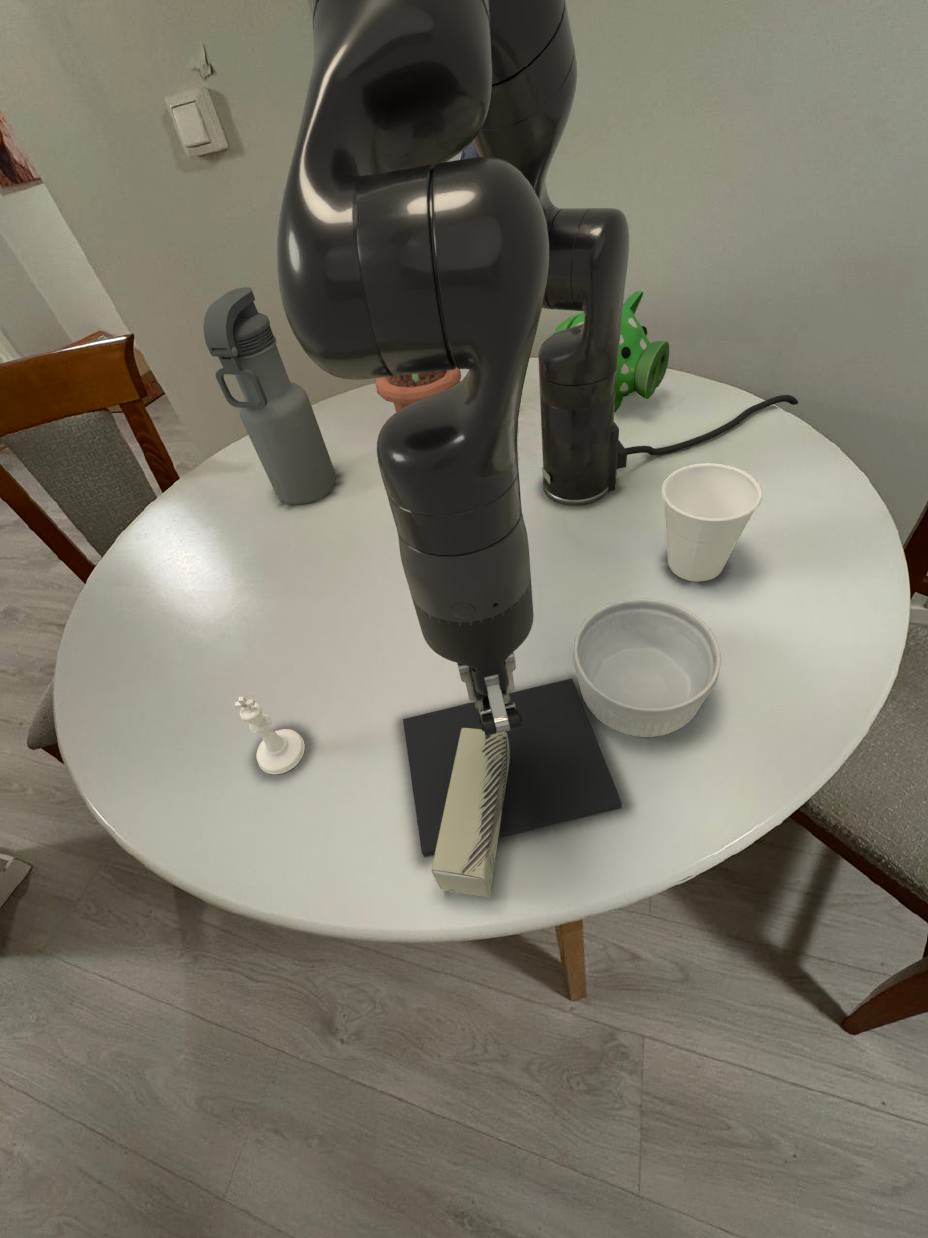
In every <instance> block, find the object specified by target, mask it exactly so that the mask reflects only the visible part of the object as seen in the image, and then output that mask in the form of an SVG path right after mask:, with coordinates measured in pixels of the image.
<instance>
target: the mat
mask: <svg viewBox="0 0 928 1238" xmlns="http://www.w3.org/2000/svg"><path fill="white" fill-rule="evenodd" d="M509 696H510V701H509V703H512V702H514V703H515V707H516V709H517V710H518V713H519V715H520V714H521V717H522V722H521V726H522V728H518V729H514V730H511V729H510V731H506V733H507V736H508V741H509V750H510V762H509V769H508V776H507V782H506V789H505V796H504V802H503V809H502V816H501V823H500V830H499V837H498V839H499V838H504V837H507V836H512V835H515V834H519V833H523V832H529V831H532V830H536V829H539V828H544V827H548V826H551V825H556V824H560V823H565V822H568V821H572V820H576V819H580V818H583V817H588V816H593V815H597V814H600V813H605V812H608V811H612V810H617V809H620V808H622V806H623V803H622V800H621V798H620V795H619V792H618V790H617V787H616V785H615V783H614V780H613V777H612V775H611V772H610V769H609V768H608V764H607V762H606V760H605V758H604V755H603V751H602V749H601V747H600V745H599V742H598V740H597V738H596V737H597V736H596V735H595V732H594V730H593V728H592V727H593V726H592V725H591V721H590V719H589V717H588V715H587V712H586V710H585V707H584V704H583V703H582V699H581V697H580V694H579V692H578V690H577V687H576V684H575V682H574V679H573V678H567V679H563V680H559V681H555V682H550V683H547V684H542V685H539V686H534V687H530V688H526V689H521V690H518V691H512V692H510V693H509ZM475 702H476V701H471V702H468V703H463V704H460V705H459V704H458V705H455V706H451V707H446V708H443V709H439V710H433V711H430V712H426V713H422V714H418V715H414V716H409V717H406V718H403V719H402V722H403V723H402V724H403V730H404V737H405V744H406V750H407V751H406V752H407V759H408V764H409V765H408V766H409V773H410V780H411V787H412V794H413V800H414V801H413V802H414V808H415V815H416V823H417V829H418V836H419V843H420V850H421V854H422V857H427V856H431V855H435V850H436V845H437V841H438V836H439V831H440V827H441V822H442V817H443V813H444V808H445V803H446V798H447V794H448V789H449V784H450V780H451V775H452V770H453V766H454V761H455V756H456V752H457V747H458V742H459V737H460V733H461V729H462V728H473V729H482V728H481V724H480V723H479V718H478V717H480V714H479V711H478V708H477V709H476V707H475Z"/></svg>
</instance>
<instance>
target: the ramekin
mask: <svg viewBox="0 0 928 1238" xmlns="http://www.w3.org/2000/svg"><path fill="white" fill-rule="evenodd" d="M572 663H573V668H574V671H575V674H576V677H577V680H578V686H579V689H580V693H581V695H582V699H583V701H584V703H585V705H586V707H587V708H588V709H589V710H590V712H591V714H592V715H593V716H595V717H596V719H597V720H598V721H600V722H601V723H602V724H603V725H605V726H607V727H608V728H610V729H611V730H614V731H616V732H618V733H622V734H625V735H627V736H628V735H629V736H632V737H640V738H654V737H662V736H664V735H665V736H666V735H669V734H671V733H674V732H677V730H679V729H682V728H683V727H685V725H687V724H689V723H690V722H691V720H692V719H694V718H695V716H696V714H697V713H698V711H699V710H700V708H701V707H702V705H703V704H704V701H705V700H706V699H707V698H708V697H709V696H710V694H711V693H712V692H713V690H714V689H715V686H716V684H717V682H718V679H719V675H720V671H721V665H722V656H721V650H720V646H719V643H718V640H717V638H716V636H715V634H714V632H712V630H711V628H710V627H709V626H708V625H707V624H706V623H705V622H704V621H703V620H702V619H701V618H700V617H699V616H697V615H696V614H694V613H693V612H691V611H689V610H688V609H686V608H684V607H681V606H679V605H677V604H674V603H671V602H669V601H664V600H659V599H654V598H629V599H622V600H618V601H615V602H612V603H609V604H607V605H604V606H602V607H600V608H598V609H597V610H595V611H594V612H593V613H591V614H590V615H589V616H588V617H587V618H586V619H584V621H583V622H582V623H581V625H580V627H579V628H578V630H577V632H576V635H575V637H574V641H573V648H572Z"/></svg>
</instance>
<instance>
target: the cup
mask: <svg viewBox="0 0 928 1238" xmlns="http://www.w3.org/2000/svg"><path fill="white" fill-rule="evenodd" d="M661 496H662V498H663V501H664V502H663V503H664V518H665V534H666V535H665V536H666V548H667V549H666V550H667V552H666V553H667V564H668V567H669V570H671V572H672V574H675V575H676V576H677V577H679V578H680V579H683V580H686V581H690V582H697V583H698V582H700V583H701V582H706V581H710V580H713V579H715V578H717V577H718V576H719V575H720V574H721V573H722V572H723V570H724V568H725V566H726V564H727V562H728V560H729V558H730V556H731V554H732V553H733V551H734V549H735V546H736V545H737V543H738V541H739V540H740V538H741V536H742V533H743V531H744V530H745V528H746V526H747V524H748V523H749V521H750V519H751V517H752V515H753V513H754V512H755V511H756V509H758V508H759V506H760V505H761V503H762V500H763V490H762V487H761V485H760V484H759V482H758V480H757V479H755V478H754V476H753V475H751V474H750V473H748V472H746V471H744V470H743V469H740V468H738V467H735V466H732V465H728V464H721V463H715V462H713V463H712V462H707V463H706V462H703V463H701V462H700V463H694V464H690V465H686V466H682V467H680V468H678V469H676V470H674V471H673V472H671V473H670V474H669V475H668V476H667V477H666V478H665V479H664V481H663V483H662V485H661Z"/></svg>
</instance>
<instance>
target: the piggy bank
mask: <svg viewBox="0 0 928 1238" xmlns="http://www.w3.org/2000/svg"><path fill="white" fill-rule="evenodd" d="M643 296H644V290H635V291H634V292H632V293H631V294H630V295H629V296H628V298H626V300H625V301H623V310H622V323H621V333H620V341H619V348H618V359H617V374H616V391H615V409H614V414H615V413H617V411H618V409H619V408H620V407H621V405H622V402H623V400H624V398H625V397H628V396H629V395H630V394H633V393H636V394H637V395H638V396H640V397H641V398H643V399H645V400H648V399H650V398H651V397H652V396H653V395H654V394H655V391H656V389H657V388H658V387H659V386H660V385H661V383H662V381H663V380H664V378H665V375H666V373H667V369H668V365H669V361H670V360H669V359H670V343H669V341H668V340H657V341H652V342H651V341H650V340H649V338H648V336H647V335H648V329H647V327H646V326H644V325H641V323H640V321H639V319H638V318H637V315H636V312H637V309H638V307H639V305H640V303H641V301H642V298H643ZM584 317H585V316H584V311H582V312H580V313H577V314H574V315H572V316H570V317H568V318H566V319H565V320H564V321H562V322H560V323H559V324H558V326H556V327H555V329H554V330H553V331H552V333H551V335H550V336H552V335H554V334H555V333H558V332H560V331H562V330H565V329H568V328H571V327H575V326H577V325H580V324H582V323H584Z"/></svg>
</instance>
